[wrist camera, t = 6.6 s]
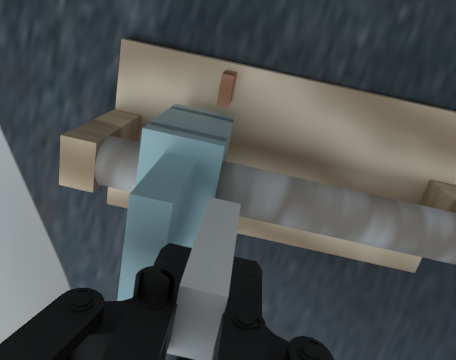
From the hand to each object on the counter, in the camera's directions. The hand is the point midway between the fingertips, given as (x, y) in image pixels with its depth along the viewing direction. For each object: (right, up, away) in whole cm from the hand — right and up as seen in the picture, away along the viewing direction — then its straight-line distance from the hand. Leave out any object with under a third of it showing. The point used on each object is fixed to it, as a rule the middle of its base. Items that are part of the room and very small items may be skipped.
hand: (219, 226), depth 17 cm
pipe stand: (+5, +4, +12) cm, 13 cm away
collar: (-2, +3, +8) cm, 9 cm away
